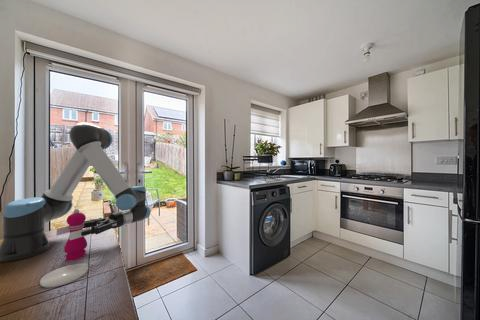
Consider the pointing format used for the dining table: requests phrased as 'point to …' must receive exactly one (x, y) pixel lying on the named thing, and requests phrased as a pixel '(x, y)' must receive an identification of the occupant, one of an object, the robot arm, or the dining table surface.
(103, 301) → the dining table surface
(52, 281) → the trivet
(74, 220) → the pepper mill
